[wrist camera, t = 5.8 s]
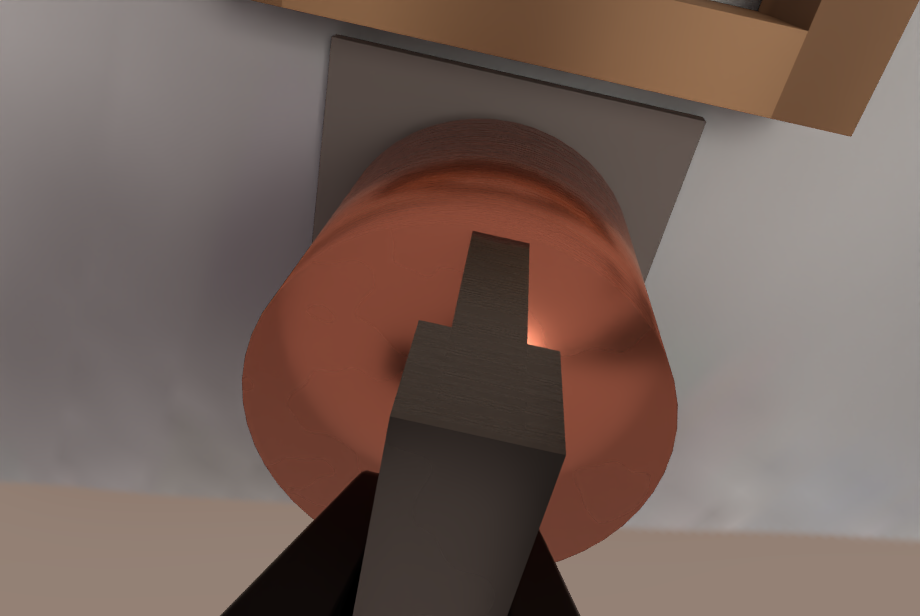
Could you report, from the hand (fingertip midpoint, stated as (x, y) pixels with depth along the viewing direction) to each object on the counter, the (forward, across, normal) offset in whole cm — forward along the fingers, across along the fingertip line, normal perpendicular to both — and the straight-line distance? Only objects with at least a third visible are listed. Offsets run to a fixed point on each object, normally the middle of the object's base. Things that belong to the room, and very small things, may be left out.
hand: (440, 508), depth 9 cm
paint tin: (+8, 0, 0) cm, 8 cm away
